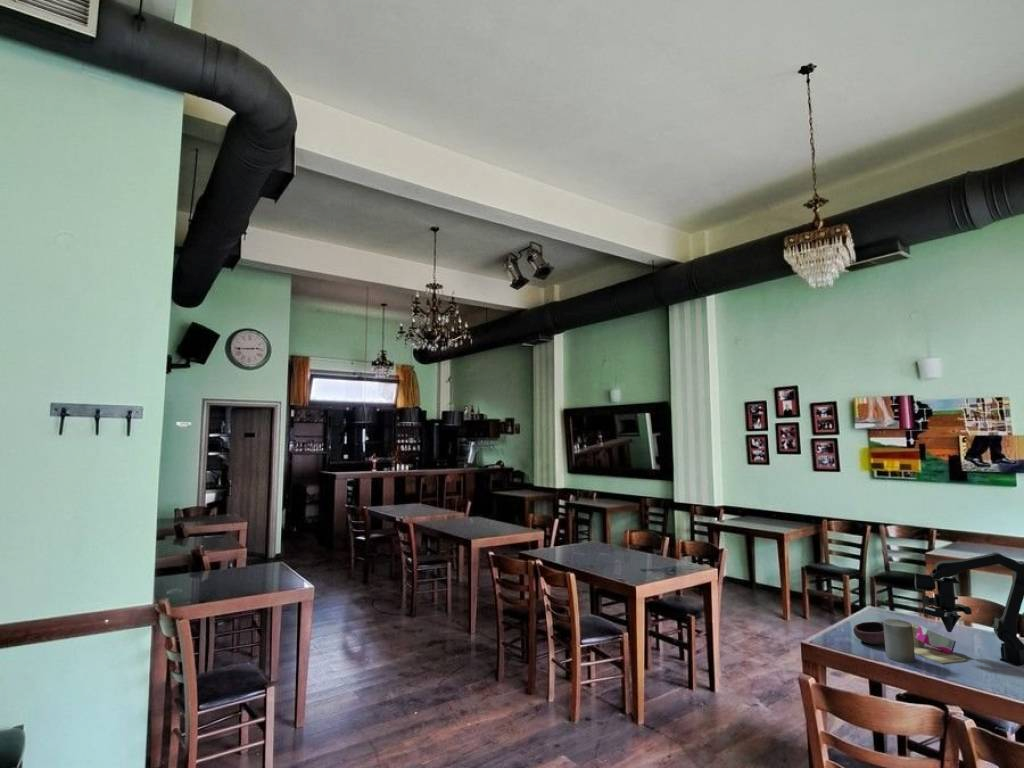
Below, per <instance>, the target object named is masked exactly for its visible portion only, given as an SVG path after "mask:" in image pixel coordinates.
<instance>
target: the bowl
mask: <svg viewBox="0 0 1024 768" xmlns="http://www.w3.org/2000/svg"><path fill="white" fill-rule="evenodd" d="M853 634H854V636H855V637H856V638H857V639H859V640H860V641H861V642H864V643H866V644H869V645H876V646H877V645H881V644H885V637H884V626H883V620H882V621H881V622H879V621H864V622H860V623H858V624H855V625H854V628H853Z"/></svg>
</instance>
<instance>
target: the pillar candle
mask: <svg viewBox="0 0 1024 768" xmlns="http://www.w3.org/2000/svg"><path fill="white" fill-rule="evenodd" d="M882 621H883V626H884V637H885V642H884V647H885V648H884V649H885V656H886V658H889V659H891V660H893V661H895V662H899V663H914V662H916V654H915V653H914V648H915V647H914V641H913V631H912V624H913V623H911V622H909V621H905V620H902V619H895V618H885V619H883V620H882Z"/></svg>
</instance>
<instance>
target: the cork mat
mask: <svg viewBox="0 0 1024 768" xmlns="http://www.w3.org/2000/svg"><path fill="white" fill-rule="evenodd" d="M914 653H915V655H916V656H917V655H918V656H920V657H923V658H925V659H928V660H930V661H933V662H935V663H937V664H941V665H945V664H946V665H947V664H952V663H961V662H968V659H966V658H963V657H961V656H959V655H955V654H953V653H952V654H949V653H947V652H944V651H942V650H940V649H937V648H935V647H932V646H930V645H927V646H925V647H919V648H916V647H914Z"/></svg>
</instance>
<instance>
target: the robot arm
mask: <svg viewBox="0 0 1024 768" xmlns="http://www.w3.org/2000/svg"><path fill="white" fill-rule="evenodd" d="M995 565H1000V566H1002V567H1004V568H1007V569H1008V570H1011V581H1012V583H1011V587H1010V590H1009V593H1008V596H1007V600H1006V604H1005V606H1004V610H1003V613H1002V615H1001V617H1000V618H998V617H994V623H993V624H992V625H991V626H992V628H993V632H994V634H995V635H996V636H997V637H998V639H999V640H1000V642H1001V644H1000V645H1001V646H1000V647H999V648H1000V656H1001V657H1000V658H999V661H1002V662H1005V663H1009V664H1011V665H1014V666H1017V667H1020V666H1024V642H1023V641H1022V640H1021V639H1020V638H1019V637H1018V625H1017V621H1018V618H1019V615H1020V611H1021V608H1022V604H1023V601H1024V561H1023V560H1015V559H1012V558H1010V557H1008V556H1005V555H1002V554H1001V553H999V552H992V553H989V554H984V555H983V554H982V555H980V556H979V555H978V556H975V557H974V556H973V557H968V558H964V559H959V560H957V559H956V560H955V559H953V560H952V559H948V560H947V559H946V560H938V561H936V563H935V564H934V568H933V569H932V570H931V572H929V574H927V573H920V572H915V573H914V587H915V590H917V591H926V592H933V591H934V590H937V591H936V593H935V594H934V597H930V596H929V595H922V596H921V603H922V604H923V605H925V607H923V614H925V615H928V616H931V617H934V618H939V619H940V620H941V622H942V624H943V626H944V628H945V630H946V631H947V632H948V633H952V632H953V629H954V628H955V627H956V625H957V623H958V621H959V620H960V618H962V615H959V614H958V613H960V612H963V613H964V615H973V612H972V611H973V610H972V609H971V607H970V606H968V605H964V604H961V603H956V600H959V597H958V596H956V593H955V592H956V591H955V584H960V583H961V582H960V580H958V579H957V578H956V577H955V576H957V575H959V574H960V573H962V572H965V571H969V570H973V569H980V568H985V567H991V566H995Z"/></svg>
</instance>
